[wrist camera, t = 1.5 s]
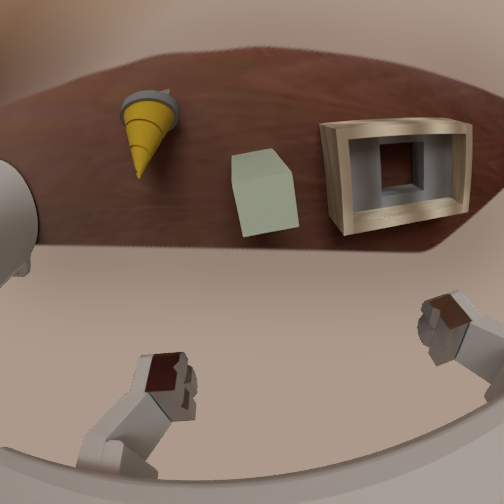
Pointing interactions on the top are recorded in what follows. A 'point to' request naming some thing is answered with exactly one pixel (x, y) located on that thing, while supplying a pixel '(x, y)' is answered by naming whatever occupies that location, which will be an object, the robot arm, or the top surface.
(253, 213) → the peg
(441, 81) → the top surface
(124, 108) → the drill bit
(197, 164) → the top surface
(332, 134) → the box
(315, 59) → the top surface
